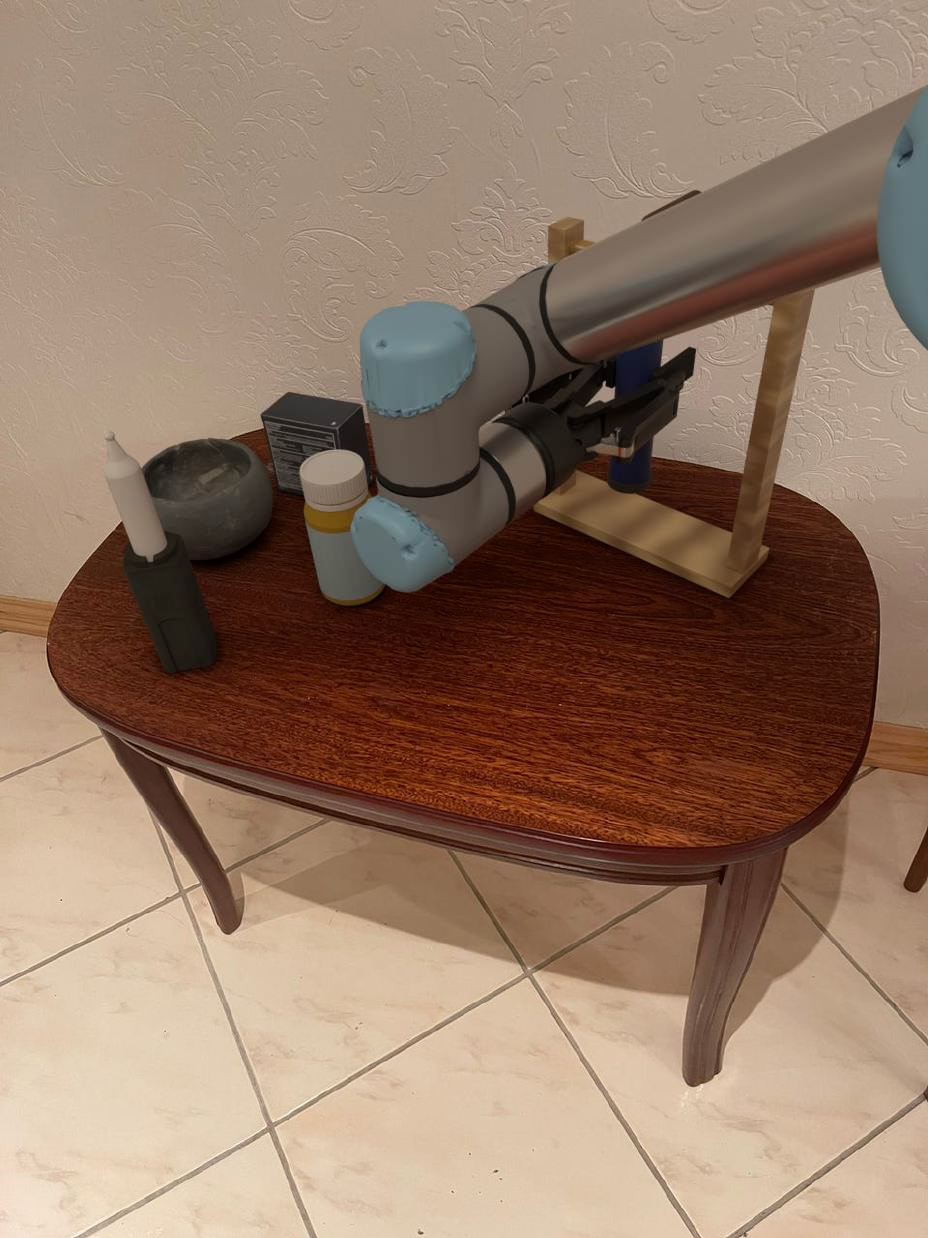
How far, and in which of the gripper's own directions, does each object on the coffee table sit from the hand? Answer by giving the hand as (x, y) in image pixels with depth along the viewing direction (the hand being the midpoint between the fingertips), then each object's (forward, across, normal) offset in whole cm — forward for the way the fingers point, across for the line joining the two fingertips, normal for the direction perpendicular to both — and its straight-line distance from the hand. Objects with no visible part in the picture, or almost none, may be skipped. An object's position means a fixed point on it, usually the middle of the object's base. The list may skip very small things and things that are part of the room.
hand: (669, 354), depth 84 cm
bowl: (-32, -37, -21) cm, 53 cm away
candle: (-44, -25, -21) cm, 55 cm away
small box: (-16, -36, -21) cm, 45 cm away
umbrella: (-3, 0, -12) cm, 12 cm away
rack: (-1, 0, -21) cm, 21 cm away
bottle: (-27, -19, -21) cm, 39 cm away
